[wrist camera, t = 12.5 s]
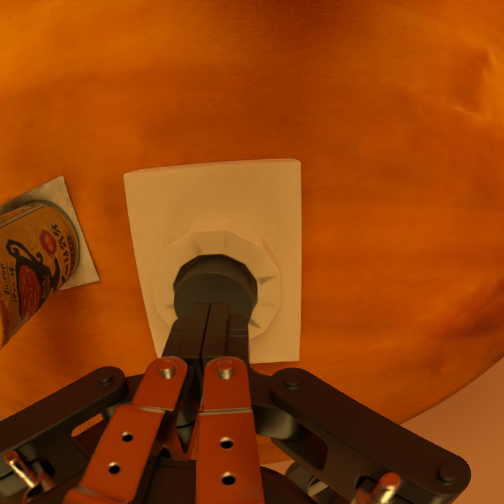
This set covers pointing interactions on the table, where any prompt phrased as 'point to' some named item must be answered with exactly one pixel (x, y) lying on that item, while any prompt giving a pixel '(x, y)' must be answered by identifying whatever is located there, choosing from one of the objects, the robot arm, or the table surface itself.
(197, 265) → the button
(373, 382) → the table surface
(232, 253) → the housing
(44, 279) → the condiment
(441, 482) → the robot arm
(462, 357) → the table surface
